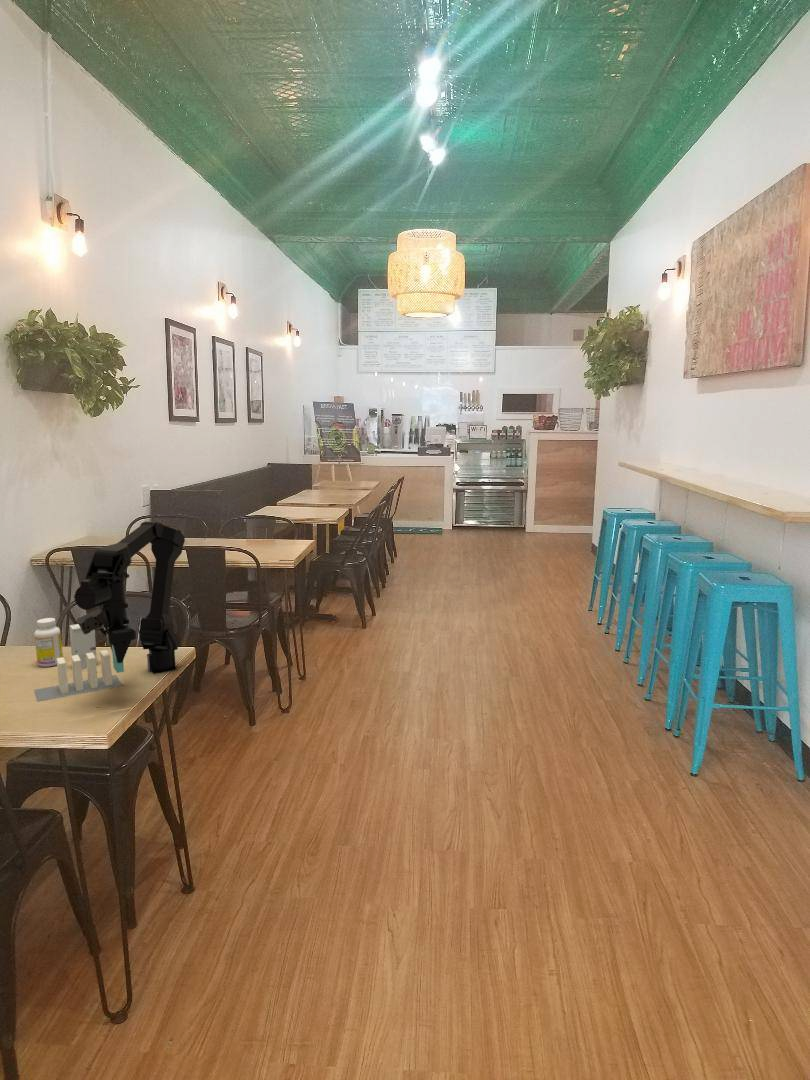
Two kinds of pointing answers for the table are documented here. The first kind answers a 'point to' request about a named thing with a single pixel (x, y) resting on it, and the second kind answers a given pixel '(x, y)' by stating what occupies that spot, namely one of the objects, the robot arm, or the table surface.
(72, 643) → the skincare box
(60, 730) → the table surface
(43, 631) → the supplement bottle
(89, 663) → the domino
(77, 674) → the domino
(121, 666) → the teal domino
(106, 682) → the domino
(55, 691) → the mat
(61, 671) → the domino
